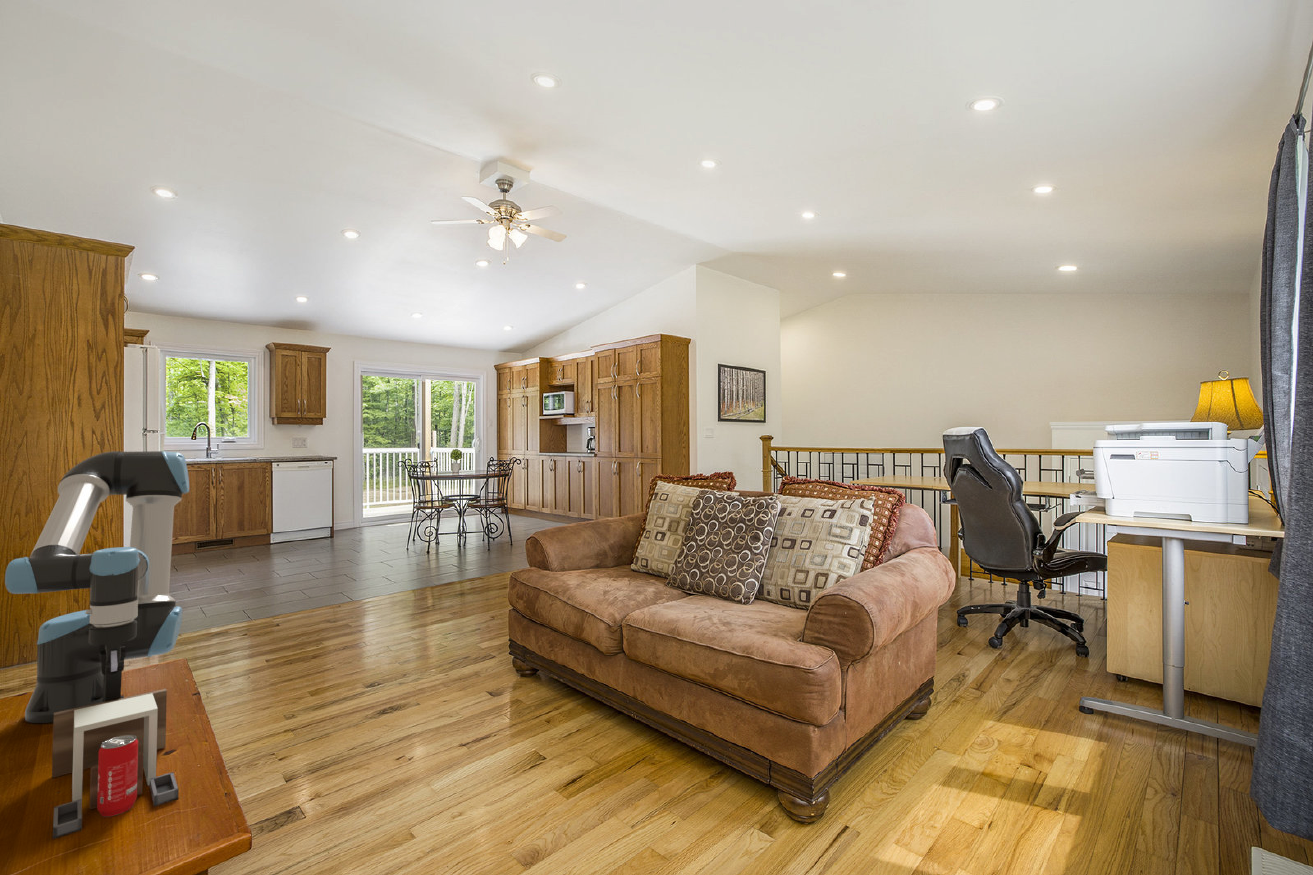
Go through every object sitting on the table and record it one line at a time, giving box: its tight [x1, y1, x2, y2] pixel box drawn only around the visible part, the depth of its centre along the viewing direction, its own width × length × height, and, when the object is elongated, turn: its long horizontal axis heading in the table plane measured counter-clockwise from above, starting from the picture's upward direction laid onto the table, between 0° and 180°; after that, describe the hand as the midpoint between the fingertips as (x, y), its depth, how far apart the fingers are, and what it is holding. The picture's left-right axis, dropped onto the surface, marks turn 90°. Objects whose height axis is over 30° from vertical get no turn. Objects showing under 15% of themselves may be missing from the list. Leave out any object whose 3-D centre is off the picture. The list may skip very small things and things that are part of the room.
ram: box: [51, 688, 168, 810], centre depth 114 cm, size 20×17×12 cm
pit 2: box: [149, 771, 179, 807], centre depth 110 cm, size 8×3×2 cm, turn 45°
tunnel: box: [71, 693, 158, 804], centre depth 113 cm, size 10×11×14 cm
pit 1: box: [52, 799, 83, 840], centre depth 101 cm, size 8×3×2 cm, turn 45°
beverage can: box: [96, 735, 138, 818], centre depth 105 cm, size 5×5×12 cm
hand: (110, 734), depth 124 cm, fingers closed
